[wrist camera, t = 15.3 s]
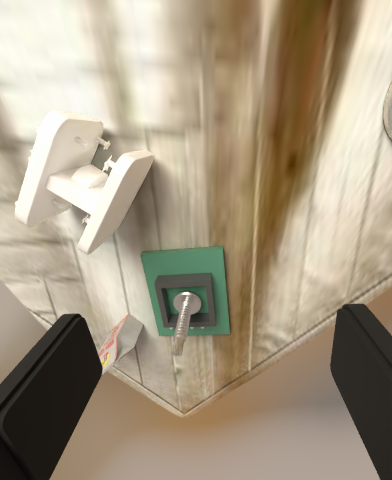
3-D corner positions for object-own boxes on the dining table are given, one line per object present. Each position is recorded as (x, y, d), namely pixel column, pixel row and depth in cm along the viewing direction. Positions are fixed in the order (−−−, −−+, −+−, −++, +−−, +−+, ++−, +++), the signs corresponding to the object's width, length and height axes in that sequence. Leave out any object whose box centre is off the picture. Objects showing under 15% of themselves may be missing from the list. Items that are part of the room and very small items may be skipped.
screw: (170, 294, 44) (188, 280, 42) (188, 311, 45) (207, 297, 44) (151, 353, 32) (176, 336, 31) (176, 373, 33) (202, 358, 32)
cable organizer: (118, 232, 42) (83, 265, 31) (61, 199, 40) (4, 222, 30) (159, 154, 36) (133, 162, 25) (95, 112, 34) (38, 102, 24)
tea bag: (143, 324, 49) (125, 366, 40) (124, 341, 52) (103, 385, 42) (129, 313, 48) (107, 354, 39) (110, 331, 51) (86, 374, 42)
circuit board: (222, 246, 41) (222, 256, 37) (229, 329, 47) (230, 344, 44) (142, 251, 42) (135, 261, 39) (160, 331, 49) (156, 345, 46)
